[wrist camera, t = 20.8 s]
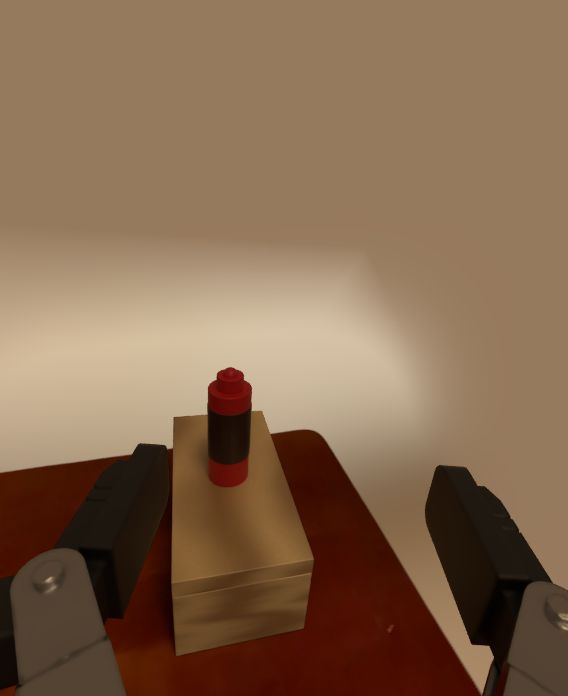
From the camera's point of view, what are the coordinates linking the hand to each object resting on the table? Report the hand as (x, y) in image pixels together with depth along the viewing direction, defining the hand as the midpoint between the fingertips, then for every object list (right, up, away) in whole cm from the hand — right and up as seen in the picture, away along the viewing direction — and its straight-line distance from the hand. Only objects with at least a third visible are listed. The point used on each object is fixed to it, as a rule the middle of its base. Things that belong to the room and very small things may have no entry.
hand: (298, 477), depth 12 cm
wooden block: (-6, -15, +28) cm, 32 cm away
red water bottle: (-6, -8, +24) cm, 26 cm away
